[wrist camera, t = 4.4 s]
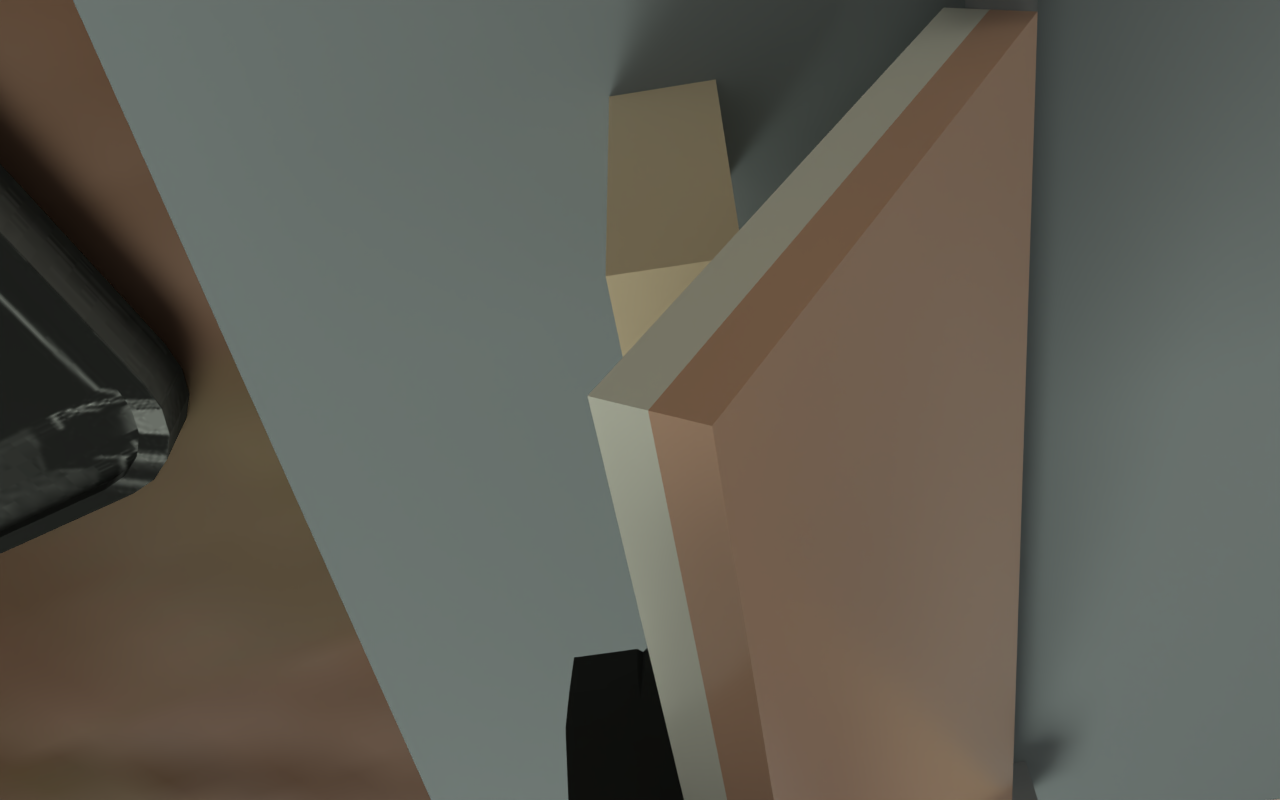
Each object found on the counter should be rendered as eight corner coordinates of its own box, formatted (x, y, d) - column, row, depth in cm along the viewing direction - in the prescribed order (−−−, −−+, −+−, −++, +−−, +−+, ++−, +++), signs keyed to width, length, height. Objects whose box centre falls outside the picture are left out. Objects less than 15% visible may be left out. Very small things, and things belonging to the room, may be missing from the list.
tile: (969, 750, 17) (1025, 770, 17) (776, 1188, 14) (844, 1226, 13) (967, -30, 11) (1059, -28, 10) (582, 382, 7) (710, 411, 6)
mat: (1513, 737, 18) (1690, 988, 15) (472, 849, 20) (445, 1098, 17) (2032, -479, 9) (2706, -457, 6) (56, -115, 11) (-164, 46, 8)
